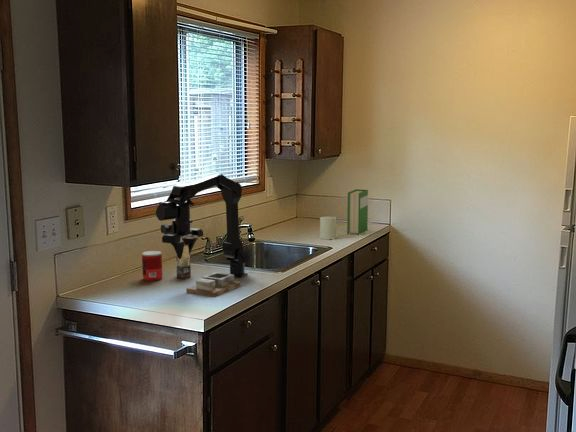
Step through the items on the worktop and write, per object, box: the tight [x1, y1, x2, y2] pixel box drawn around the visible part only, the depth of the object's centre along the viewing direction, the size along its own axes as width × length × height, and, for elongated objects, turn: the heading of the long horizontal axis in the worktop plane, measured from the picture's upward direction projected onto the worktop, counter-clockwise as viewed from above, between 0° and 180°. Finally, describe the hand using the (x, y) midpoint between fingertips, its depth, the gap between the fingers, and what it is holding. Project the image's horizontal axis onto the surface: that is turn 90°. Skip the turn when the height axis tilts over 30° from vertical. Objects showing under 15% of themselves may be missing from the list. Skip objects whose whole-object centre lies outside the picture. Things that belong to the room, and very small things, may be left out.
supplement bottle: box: [175, 255, 192, 279], centre depth 264 cm, size 6×6×11 cm
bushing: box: [178, 243, 189, 267], centre depth 244 cm, size 4×4×8 cm
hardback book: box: [346, 188, 369, 235], centre depth 367 cm, size 18×7×24 cm, turn 159°
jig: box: [185, 271, 242, 298], centre depth 245 cm, size 18×13×4 cm
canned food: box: [141, 250, 163, 282], centre depth 261 cm, size 8×8×11 cm
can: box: [319, 215, 337, 240], centre depth 349 cm, size 9×9×12 cm
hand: (183, 257), depth 245 cm, fingers closed on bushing, 4 cm apart
